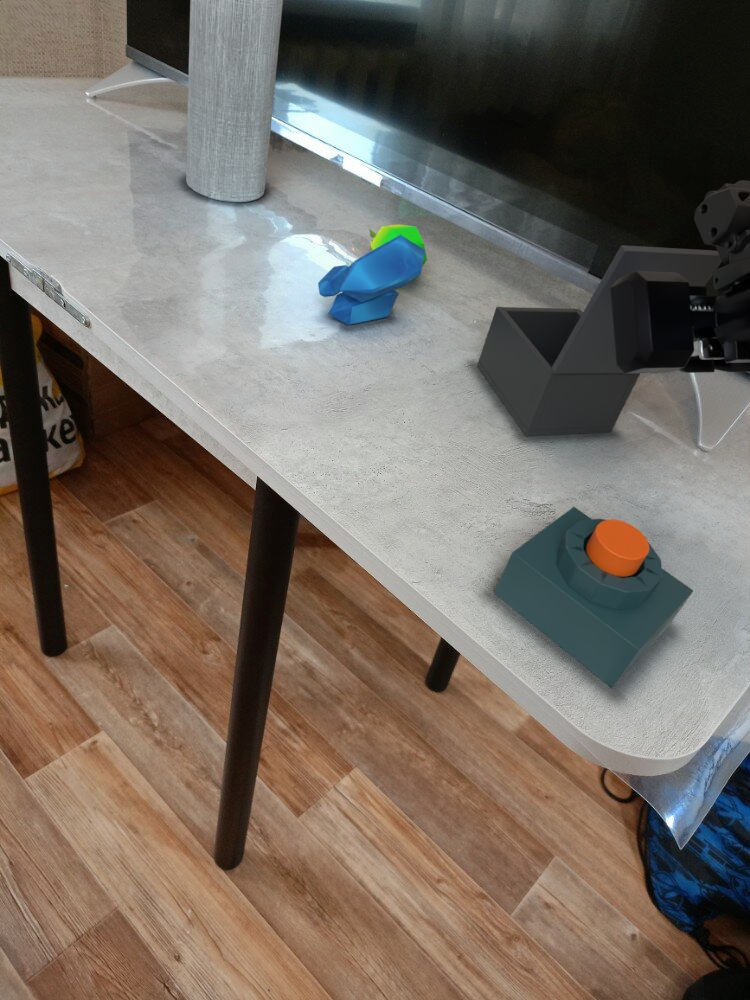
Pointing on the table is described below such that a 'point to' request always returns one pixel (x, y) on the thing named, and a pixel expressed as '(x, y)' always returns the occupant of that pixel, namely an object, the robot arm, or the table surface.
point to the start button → (617, 548)
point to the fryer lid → (594, 329)
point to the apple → (392, 232)
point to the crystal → (372, 281)
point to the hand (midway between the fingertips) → (650, 350)
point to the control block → (590, 597)
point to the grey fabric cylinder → (231, 96)
